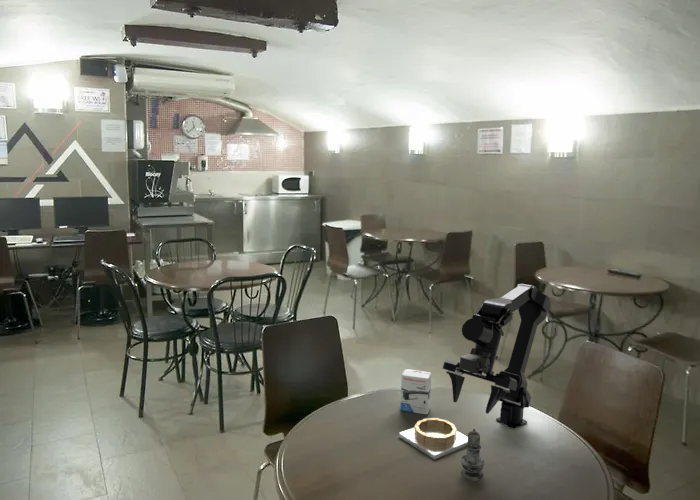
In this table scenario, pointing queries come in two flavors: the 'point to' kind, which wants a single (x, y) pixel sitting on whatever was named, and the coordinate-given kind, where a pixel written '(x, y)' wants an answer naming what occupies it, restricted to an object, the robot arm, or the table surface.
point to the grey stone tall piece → (472, 458)
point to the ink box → (415, 391)
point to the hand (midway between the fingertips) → (470, 407)
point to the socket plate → (434, 449)
